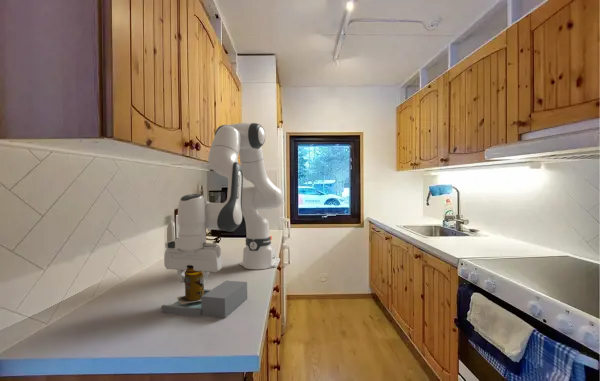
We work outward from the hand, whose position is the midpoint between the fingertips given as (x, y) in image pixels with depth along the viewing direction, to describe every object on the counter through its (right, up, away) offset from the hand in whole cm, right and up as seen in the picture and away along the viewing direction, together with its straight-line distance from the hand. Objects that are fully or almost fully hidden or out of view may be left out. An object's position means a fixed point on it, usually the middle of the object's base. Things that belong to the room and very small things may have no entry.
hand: (193, 283), depth 106 cm
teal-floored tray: (+5, -7, -1) cm, 9 cm away
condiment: (-1, -6, 0) cm, 6 cm away
